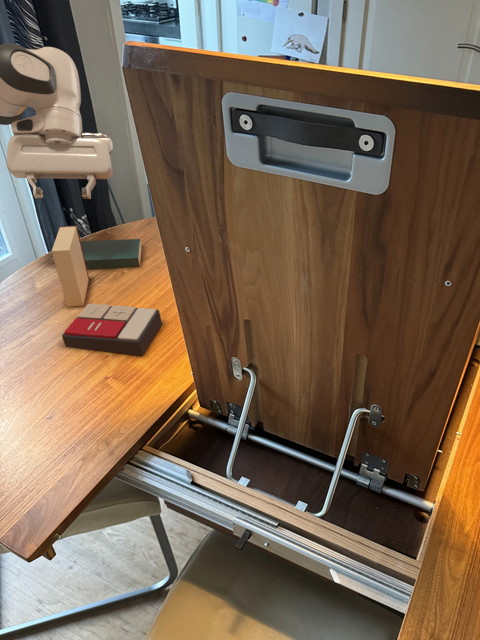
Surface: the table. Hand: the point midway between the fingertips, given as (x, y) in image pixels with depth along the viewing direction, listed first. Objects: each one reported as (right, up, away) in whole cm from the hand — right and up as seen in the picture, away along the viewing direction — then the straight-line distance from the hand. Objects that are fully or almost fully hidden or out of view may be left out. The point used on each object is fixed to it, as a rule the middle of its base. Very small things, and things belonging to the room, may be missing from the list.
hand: (62, 197), depth 107 cm
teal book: (+5, -10, +16) cm, 19 cm away
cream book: (+2, -20, +4) cm, 20 cm away
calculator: (+13, -29, -7) cm, 33 cm away
